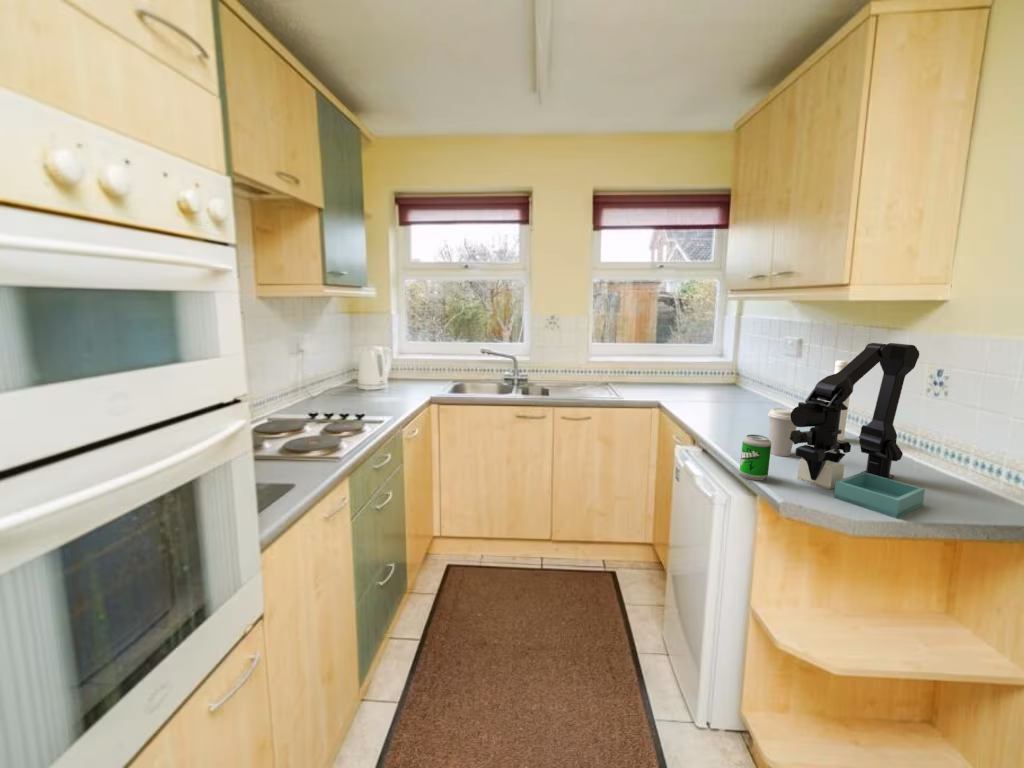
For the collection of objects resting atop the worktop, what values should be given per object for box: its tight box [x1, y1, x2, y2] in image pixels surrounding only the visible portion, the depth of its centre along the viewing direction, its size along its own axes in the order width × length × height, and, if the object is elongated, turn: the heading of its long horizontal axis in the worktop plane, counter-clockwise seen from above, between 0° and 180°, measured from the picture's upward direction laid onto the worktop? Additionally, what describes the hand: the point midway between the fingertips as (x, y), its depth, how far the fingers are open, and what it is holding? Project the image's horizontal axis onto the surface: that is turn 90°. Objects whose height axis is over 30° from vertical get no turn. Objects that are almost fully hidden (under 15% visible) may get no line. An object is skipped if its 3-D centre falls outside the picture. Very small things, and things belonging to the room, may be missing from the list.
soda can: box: [739, 434, 771, 481], centre depth 143 cm, size 8×8×12 cm
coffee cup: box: [767, 407, 798, 457], centre depth 165 cm, size 10×10×15 cm
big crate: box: [833, 471, 926, 519], centre depth 127 cm, size 15×14×4 cm
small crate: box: [797, 458, 845, 490], centre depth 140 cm, size 6×9×6 cm
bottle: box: [827, 359, 851, 441], centre depth 181 cm, size 8×8×30 cm
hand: (819, 477), depth 140 cm, fingers closed on small crate, 6 cm apart
